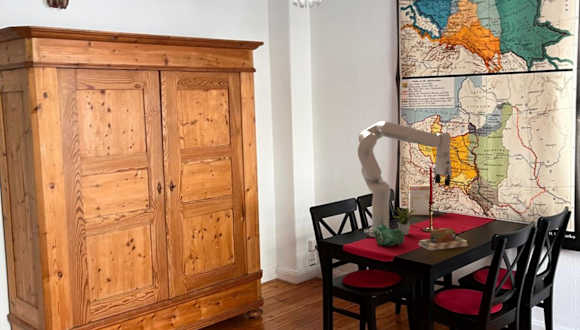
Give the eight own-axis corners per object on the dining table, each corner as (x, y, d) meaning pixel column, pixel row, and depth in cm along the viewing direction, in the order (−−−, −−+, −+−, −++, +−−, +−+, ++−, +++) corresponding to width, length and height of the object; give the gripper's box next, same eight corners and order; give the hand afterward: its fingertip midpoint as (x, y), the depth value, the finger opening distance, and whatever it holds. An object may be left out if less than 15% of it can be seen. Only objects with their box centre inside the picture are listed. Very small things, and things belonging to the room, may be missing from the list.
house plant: (417, 237, 332) (417, 209, 330) (392, 237, 335) (392, 208, 333) (417, 231, 346) (417, 204, 344) (392, 230, 349) (393, 203, 347)
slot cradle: (430, 250, 307) (430, 245, 307) (418, 244, 319) (418, 239, 318) (468, 245, 315) (468, 241, 314) (454, 240, 326) (455, 235, 325)
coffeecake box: (431, 213, 396) (431, 184, 393) (432, 215, 389) (433, 185, 386) (408, 212, 397) (408, 184, 394) (409, 215, 390) (409, 185, 387)
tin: (431, 246, 313) (431, 230, 312) (428, 244, 316) (428, 229, 315) (456, 243, 318) (456, 227, 317) (452, 241, 321) (453, 226, 320)
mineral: (365, 245, 320) (366, 226, 318) (381, 239, 331) (381, 221, 330) (395, 250, 308) (396, 232, 306) (411, 244, 320) (411, 226, 318)
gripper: (457, 156, 330) (456, 186, 332) (440, 152, 346) (439, 181, 348) (445, 156, 327) (445, 187, 329) (428, 153, 343) (428, 182, 346)
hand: (442, 184), depth 339 cm, fingers open, 9 cm apart
